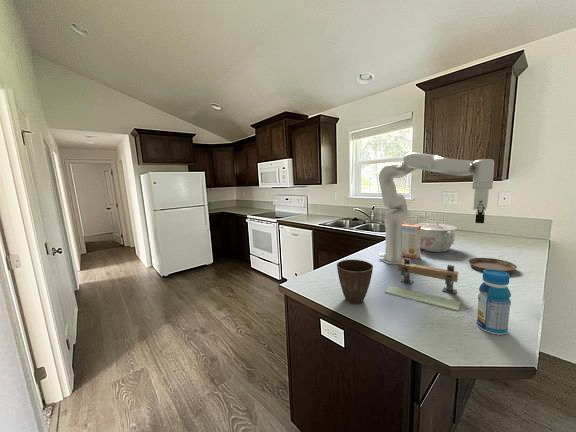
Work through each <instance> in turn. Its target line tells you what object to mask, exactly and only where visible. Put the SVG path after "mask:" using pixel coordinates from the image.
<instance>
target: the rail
mask: <svg viewBox="0 0 576 432" xmlns="http://www.w3.org/2000/svg"><path fill="white" fill-rule="evenodd" d="M401 268H403V269H406V273H410V275H411V274H412V275H418V276H423V277H429V278H432V279H433V278H434V279H438V280H444V281H445V278H446V276H447V277H451V281H453V282H454V283H458V281H459V271H457V270H454V271H451V270H447V269H444V268H438V267H432V266H431V267H430V266H425V265H420V264H415V263H411V264H409V263H403V262H399V263H398V265H397V271H398V272H401Z"/></svg>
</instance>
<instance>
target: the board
mask: <svg viewBox="0 0 576 432" xmlns="http://www.w3.org/2000/svg"><path fill="white" fill-rule="evenodd" d="M384 293H386V294H389V295H393V296H397V297H402V298H405V299H408V300H413V301H416V302H421V303H426V304H429V305H433V306H437V307H439V308H440V307H441V308H444V309H447V310H453V311H455V312H459V310H460V306H461V301H457V300H456V301H455V300H452V299H447V298H443V297H438V296H434V295H430V294H427V293H426V294H425V293H421V292H417V291H412V290H409V289H404V288H400V287H396V286H391V285H389V286H388V288H386V289H385V291H384Z"/></svg>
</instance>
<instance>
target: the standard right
mask: <svg viewBox="0 0 576 432" xmlns="http://www.w3.org/2000/svg"><path fill="white" fill-rule="evenodd" d="M446 267H447V269H446V270H451V271H455V265H451V264H447V266H446ZM454 283H455V282H453V281H451V277H447V276H446V278H445V280H444V284H445V285H446V287H445V286H444V287H443V288H442V292H444V293H448V294H453V295H457V291H458V290H457V289H454Z"/></svg>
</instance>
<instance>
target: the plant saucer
mask: <svg viewBox="0 0 576 432" xmlns="http://www.w3.org/2000/svg"><path fill="white" fill-rule="evenodd" d="M468 263H469V265H470V266H471V267H472V268H473V269H475V270H477V271H481V272H483V271H484V270H486V269H495V270H500V271H504V272H506V273H508V274H510V273H513V272H514V271H515V270H516V269H517V268H518V267H517V265H516V264H515V263H512V262H510V261H506V260H503V259H499V258H492V257H491V258H489V257H473V258H470V259H468Z"/></svg>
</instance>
